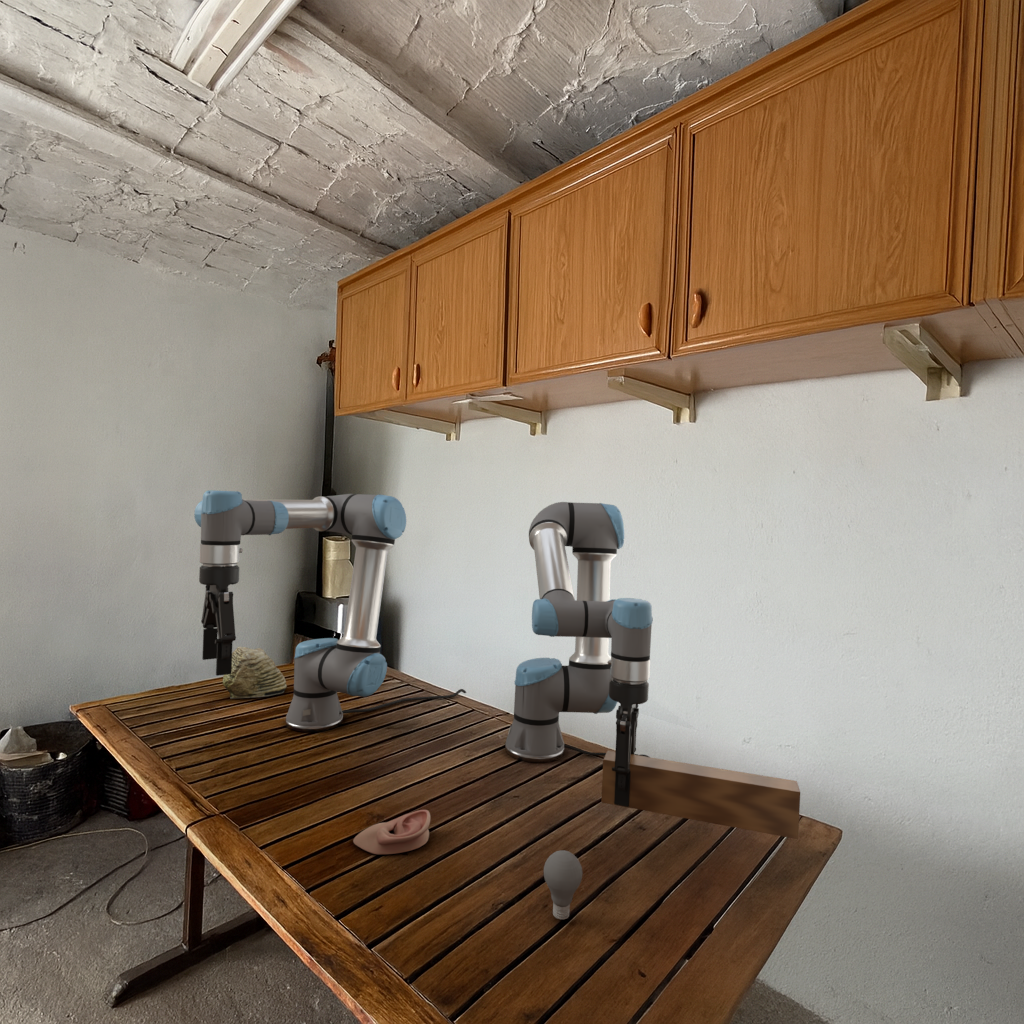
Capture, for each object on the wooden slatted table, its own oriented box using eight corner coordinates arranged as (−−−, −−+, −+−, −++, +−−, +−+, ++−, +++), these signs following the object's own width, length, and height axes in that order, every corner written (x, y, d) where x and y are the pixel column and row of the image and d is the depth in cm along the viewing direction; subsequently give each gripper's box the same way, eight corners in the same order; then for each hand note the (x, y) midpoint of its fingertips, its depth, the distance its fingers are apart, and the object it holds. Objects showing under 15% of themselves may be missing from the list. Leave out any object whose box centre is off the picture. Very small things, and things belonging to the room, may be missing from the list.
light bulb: (539, 904, 101) (542, 842, 101) (576, 904, 101) (579, 842, 101) (544, 930, 95) (547, 864, 95) (583, 929, 95) (586, 864, 95)
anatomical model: (346, 827, 114) (372, 798, 125) (345, 849, 114) (372, 818, 125) (416, 839, 111) (436, 808, 122) (415, 861, 111) (436, 828, 123)
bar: (794, 826, 116) (797, 780, 116) (798, 839, 111) (800, 792, 111) (605, 791, 127) (607, 750, 127) (601, 802, 122) (603, 759, 122)
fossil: (218, 695, 195) (220, 647, 195) (278, 685, 208) (279, 640, 207) (228, 703, 189) (230, 653, 188) (289, 692, 201) (290, 645, 201)
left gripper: (254, 571, 124) (250, 679, 124) (225, 558, 144) (222, 651, 144) (212, 572, 119) (209, 684, 120) (189, 558, 139) (185, 654, 140)
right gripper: (616, 666, 133) (611, 776, 133) (601, 688, 115) (596, 815, 116) (653, 670, 130) (648, 783, 131) (643, 694, 113) (637, 823, 113)
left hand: (216, 666), depth 132 cm, fingers open, 13 cm apart
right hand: (623, 798), depth 123 cm, fingers closed on bar, 5 cm apart
